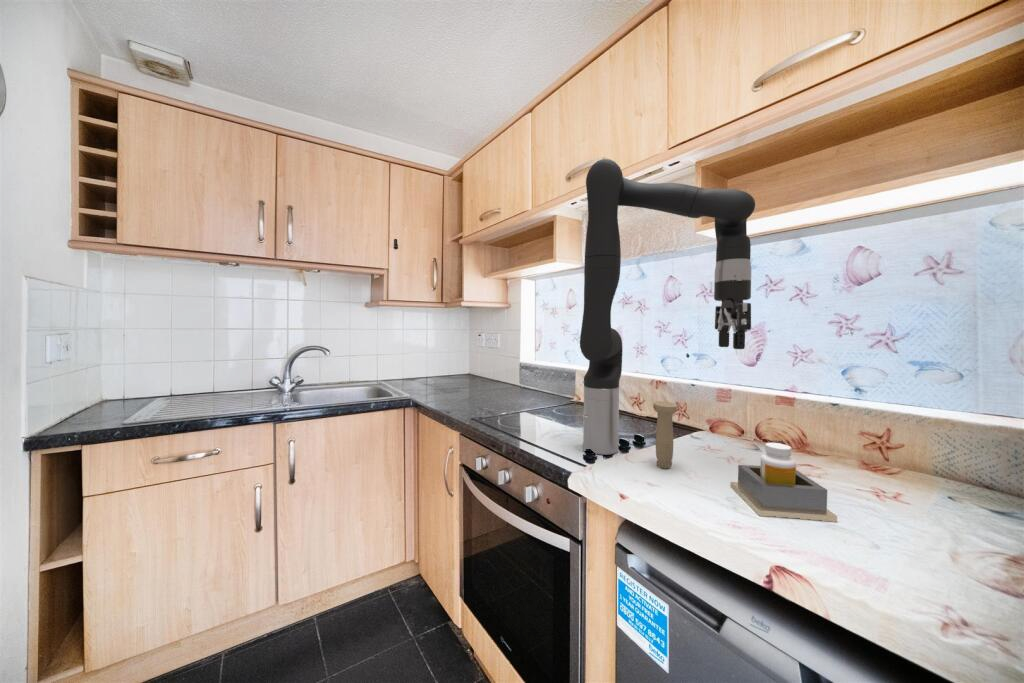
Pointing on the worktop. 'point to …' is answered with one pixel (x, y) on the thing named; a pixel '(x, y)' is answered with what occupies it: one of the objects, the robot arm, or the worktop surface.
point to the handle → (664, 433)
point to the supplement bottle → (778, 464)
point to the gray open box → (783, 496)
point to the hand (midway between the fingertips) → (730, 347)
